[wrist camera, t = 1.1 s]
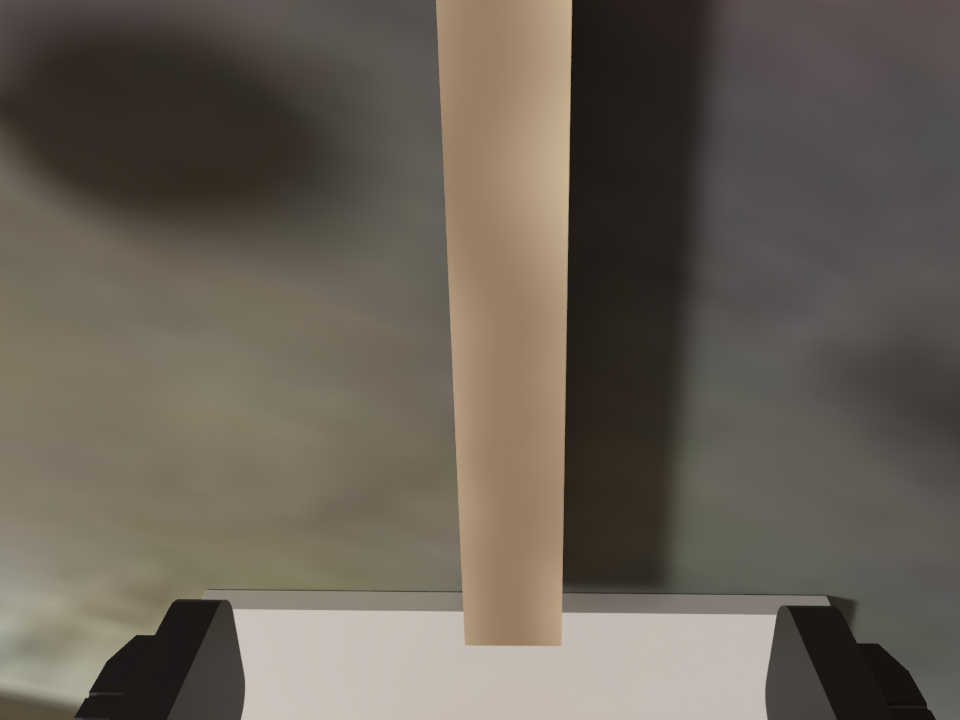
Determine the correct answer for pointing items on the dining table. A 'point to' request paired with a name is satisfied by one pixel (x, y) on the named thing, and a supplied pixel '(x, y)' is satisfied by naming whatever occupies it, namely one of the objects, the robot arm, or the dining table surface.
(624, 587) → the dining table surface
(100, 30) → the dining table surface
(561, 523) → the oak stick
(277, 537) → the dining table surface
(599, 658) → the white panel
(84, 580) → the dining table surface
